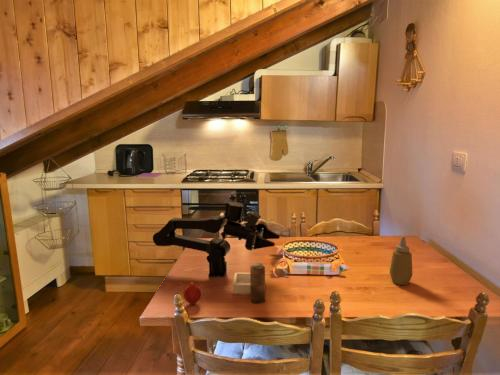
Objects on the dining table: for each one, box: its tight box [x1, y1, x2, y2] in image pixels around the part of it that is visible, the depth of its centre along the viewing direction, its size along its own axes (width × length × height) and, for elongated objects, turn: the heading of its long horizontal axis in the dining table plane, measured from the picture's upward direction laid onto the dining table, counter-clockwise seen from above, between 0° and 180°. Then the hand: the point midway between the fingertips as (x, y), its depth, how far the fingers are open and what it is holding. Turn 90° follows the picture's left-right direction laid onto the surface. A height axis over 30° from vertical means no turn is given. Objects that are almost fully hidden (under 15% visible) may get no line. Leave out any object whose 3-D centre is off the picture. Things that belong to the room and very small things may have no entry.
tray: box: [232, 272, 251, 296], centre depth 138 cm, size 11×11×4 cm
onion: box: [183, 282, 202, 306], centre depth 125 cm, size 6×6×8 cm
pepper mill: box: [249, 262, 266, 305], centre depth 127 cm, size 5×5×13 cm
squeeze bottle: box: [389, 236, 413, 286], centre depth 140 cm, size 8×8×18 cm
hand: (277, 240), depth 142 cm, fingers open, 9 cm apart
